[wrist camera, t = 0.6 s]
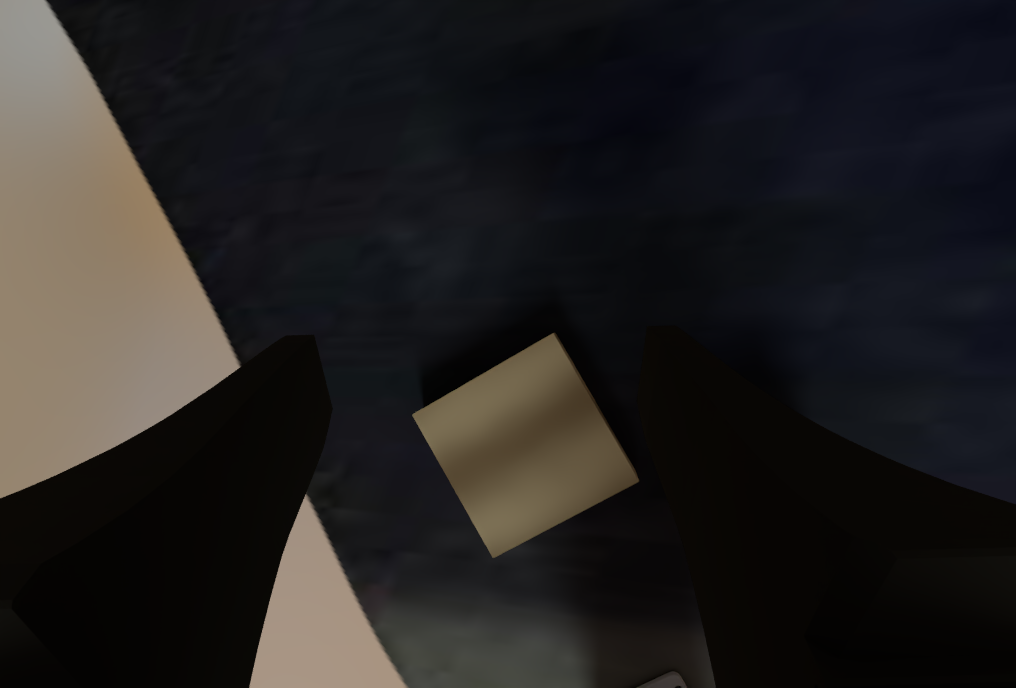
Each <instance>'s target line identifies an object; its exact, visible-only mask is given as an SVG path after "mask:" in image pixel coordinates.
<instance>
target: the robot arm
mask: <svg viewBox="0 0 1016 688" xmlns="http://www.w3.org/2000/svg"><path fill="white" fill-rule="evenodd" d="M637 404H638V409H639V414H640V418H641V423H642V427H643V432H644V436H645V440H646V443H647V446H648V449H649V452H650V454H651V457H652V460H653V462H654V465H655V468H656V471H657V473H658V476H659V479H660V481H661V484H662V487H663V490H664V492H665V495H666V498H667V500H668V503H669V506H670V508H671V511H672V514H673V516H674V519H675V522H676V524H677V527H678V530H679V534H680V537H681V540H682V543H683V546H684V550H685V554H686V558H687V562H688V566H689V570H690V574H691V578H692V582H693V586H694V590H695V594H696V598H697V603H698V607H699V611H700V616H701V620H702V624H703V628H704V633H705V637H706V642H707V647H708V651H709V656H710V661H711V666H712V670H713V675H714V680H715V685H716V688H1016V505H1015V504H1012V503H1009V502H1006V501H1003V500H1000V499H997V498H994V497H991V496H988V495H985V494H982V493H979V492H976V491H972V490H969V489H966V488H963V487H960V486H957V485H955V484H952V483H949V482H946V481H944V480H941V479H939V478H936V477H933V476H931V475H928V474H926V473H923V472H920V471H918V470H915V469H913V468H910V467H908V466H905V465H903V464H900V463H898V462H896V461H893V460H891V459H889V458H886V457H884V456H882V455H879V454H877V453H875V452H873V451H871V450H869V449H867V448H864V447H862V446H860V445H858V444H856V443H854V442H852V441H849V440H847V439H845V438H843V437H841V436H839V435H837V434H835V433H833V432H831V431H829V430H828V429H826V428H824V427H822V426H820V425H818V424H817V423H815V422H813V421H811V420H810V419H808V418H806V417H804V416H802V415H801V414H799V413H797V412H795V411H794V410H792V409H790V408H789V407H787V406H785V405H784V404H782V403H781V402H779V401H778V400H776V399H774V398H773V397H771V396H770V395H768V394H767V393H765V392H764V391H762V390H761V389H759V388H758V387H756V386H755V385H754V384H752V383H751V382H749V381H748V380H746V379H745V378H744V377H742V376H741V375H740V374H738V373H737V372H735V371H734V370H733V369H731V368H730V367H729V366H727V365H726V364H725V363H723V362H722V361H721V360H720V359H718V358H717V357H716V356H714V355H713V354H712V353H711V352H709V351H708V350H707V349H706V348H704V347H703V346H702V345H700V344H699V343H698V342H697V341H695V340H694V339H693V338H692V337H690V336H689V335H688V334H686V333H685V332H684V331H682V330H681V329H680V328H678V327H677V326H647V331H646V338H645V346H644V353H643V360H642V367H641V374H640V382H639V389H638V396H637ZM332 409H333V408H332V404H331V400H330V396H329V392H328V388H327V384H326V380H325V376H324V373H323V369H322V365H321V361H320V357H319V353H318V349H317V345H316V341H315V337H314V335H292V336H285V337H283V338H281V339H280V340H278V341H276V342H275V343H273V344H272V345H271V346H269V347H268V348H266V349H265V350H264V351H262V352H261V353H259V354H258V355H257V356H255V357H254V358H253V359H251V360H250V361H248V362H247V363H246V364H244V365H243V366H242V367H240V368H239V369H237V370H236V371H235V372H233V373H232V374H231V375H229V376H228V377H226V378H225V379H224V380H222V381H221V382H219V383H218V384H217V385H215V386H214V387H212V388H211V389H209V390H208V391H206V392H205V393H203V394H202V395H200V396H199V397H197V398H196V399H194V400H193V401H191V402H190V403H188V404H187V405H185V406H184V407H182V408H181V409H179V410H178V411H176V412H175V413H173V414H172V415H170V416H168V417H167V418H165V419H164V420H162V421H160V422H159V423H157V424H155V425H154V426H152V427H150V428H148V429H147V430H145V431H143V432H141V433H140V434H138V435H136V436H134V437H132V438H130V439H129V440H127V441H125V442H123V443H121V444H119V445H118V446H116V447H114V448H112V449H110V450H108V451H106V452H104V453H102V454H99V455H97V456H95V457H93V458H91V459H89V460H87V461H85V462H83V463H81V464H79V465H77V466H74V467H72V468H70V469H68V470H66V471H64V472H62V473H60V474H58V475H56V476H53V477H51V478H49V479H46V480H44V481H42V482H39V483H37V484H35V485H32V486H30V487H28V488H25V489H23V490H21V491H18V492H16V493H13V494H11V495H8V496H6V497H3V498H0V688H249V685H250V681H251V676H252V672H253V667H254V663H255V658H256V653H257V649H258V645H259V641H260V637H261V633H262V629H263V624H264V621H265V617H266V613H267V609H268V605H269V601H270V597H271V593H272V589H273V586H274V582H275V578H276V575H277V572H278V568H279V564H280V561H281V557H282V554H283V551H284V548H285V546H286V543H287V540H288V537H289V534H290V531H291V529H292V527H293V524H294V521H295V519H296V517H297V514H298V512H299V509H300V507H301V504H302V502H303V499H304V497H305V494H306V492H307V489H308V487H309V484H310V482H311V479H312V477H313V474H314V471H315V469H316V466H317V464H318V461H319V458H320V456H321V453H322V450H323V448H324V444H325V440H326V436H327V432H328V427H329V423H330V418H331V413H332ZM676 686H681V688H687V686H686V684H685V682H684V681H683V679H682V677H681V676H680V674H679V673H677V672H674V671H672V672H668V673H666V674H664V675H662V676H660V677H658V678H656V679H654V680H651V681H649V682H647V683H645V684H643V685H641V686H639V687H636V688H675V687H676Z"/></svg>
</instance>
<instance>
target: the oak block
mask: <svg viewBox="0 0 1016 688" xmlns="http://www.w3.org/2000/svg"><path fill="white" fill-rule="evenodd" d="M412 416H413V417H414V419H415V421H416V423H417V425H418V426H419V428H420V430H421V432H422V433H423V435H424V437H425V439H426V440H427V442H428V444H429V446H430V447H431V449H432V451H433V453H434V455H435V456H436V458H437V460H438V462H439V463H440V465H441V467H442V469H443V470H444V472H445V474H446V476H447V478H448V479H449V481H450V483H451V485H452V486H453V488H454V490H455V492H456V493H457V495H458V497H459V499H460V501H461V502H462V504H463V506H464V508H465V509H466V511H467V513H468V515H469V516H470V518H471V520H472V522H473V523H474V525H475V527H476V529H477V531H478V532H479V534H480V536H481V538H482V539H483V541H484V543H485V545H486V546H487V548H488V550H489V552H490V554H491V555H492V557H493V558H494V557H496V556H498V555H500V554H502V553H504V552H506V551H508V550H510V549H512V548H514V547H515V546H517V545H519V544H521V543H523V542H525V541H527V540H529V539H531V538H533V537H534V536H536V535H538V534H540V533H542V532H544V531H546V530H548V529H550V528H552V527H554V526H555V525H557V524H559V523H561V522H563V521H565V520H567V519H569V518H571V517H573V516H574V515H576V514H578V513H580V512H582V511H584V510H586V509H588V508H590V507H592V506H593V505H595V504H597V503H599V502H601V501H603V500H605V499H607V498H609V497H611V496H613V495H614V494H616V493H618V492H620V491H622V490H624V489H626V488H628V487H630V486H632V485H633V484H635V483H637V482H639V479H638V476H637V473H636V471H635V469H634V467H633V465H632V464H631V462H630V460H629V458H628V457H627V455H626V453H625V451H624V450H623V448H622V446H621V445H620V443H619V441H618V439H617V438H616V436H615V434H614V433H613V431H612V429H611V427H610V426H609V424H608V422H607V421H606V419H605V417H604V415H603V414H602V412H601V410H600V408H599V407H598V405H597V403H596V402H595V400H594V398H593V396H592V395H591V393H590V391H589V390H588V388H587V386H586V384H585V383H584V381H583V379H582V377H581V376H580V374H579V372H578V371H577V369H576V367H575V365H574V364H573V362H572V360H571V359H570V357H569V355H568V353H567V352H566V350H565V348H564V347H563V345H562V343H561V341H560V340H559V338H558V336H557V334H556V333H552V334H551V335H549V336H547V337H545V338H544V339H542V340H540V341H539V342H537V343H535V344H533V345H532V346H530V347H528V348H526V349H525V350H523V351H521V352H520V353H518V354H516V355H514V356H513V357H511V358H509V359H507V360H506V361H504V362H502V363H501V364H499V365H497V366H495V367H494V368H492V369H490V370H488V371H487V372H485V373H483V374H482V375H480V376H478V377H476V378H475V379H473V380H471V381H469V382H468V383H466V384H464V385H463V386H461V387H459V388H457V389H456V390H454V391H452V392H450V393H449V394H447V395H445V396H444V397H442V398H440V399H438V400H437V401H435V402H433V403H431V404H430V405H428V406H426V407H425V408H423V409H421V410H419V411H418V412H416V413H414V414H412Z"/></svg>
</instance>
